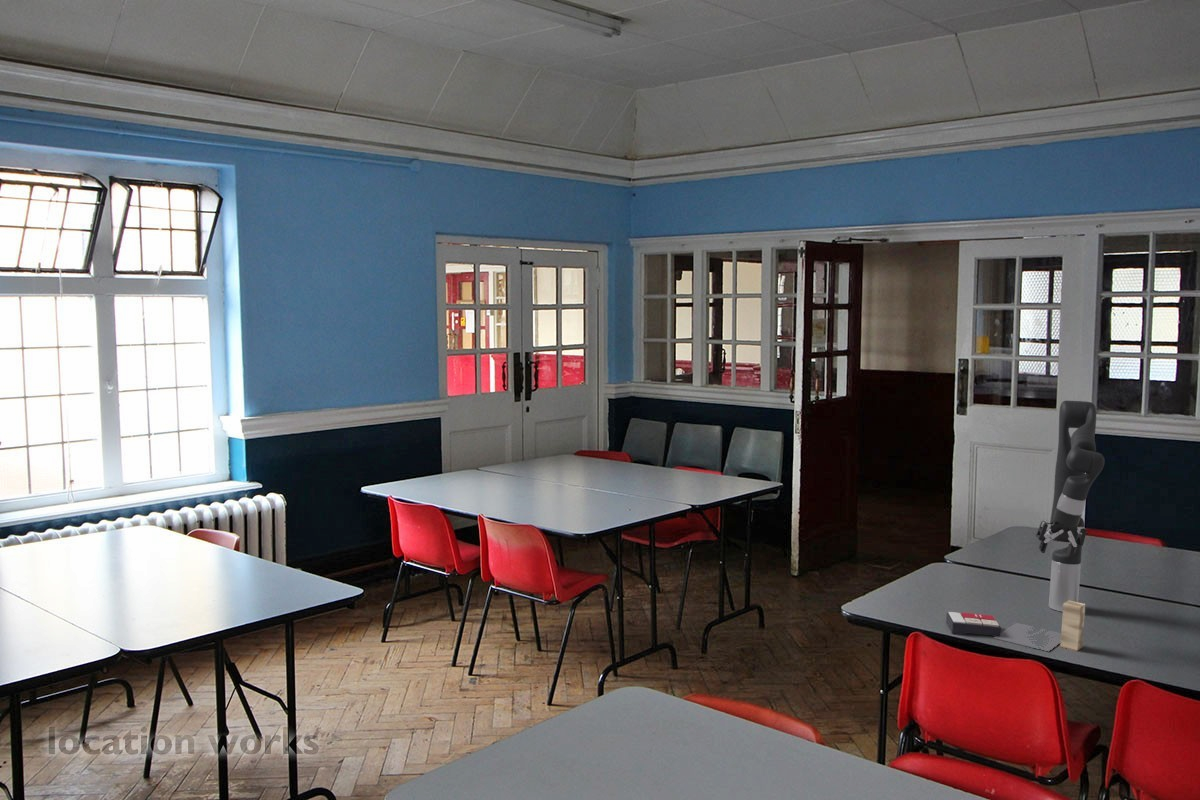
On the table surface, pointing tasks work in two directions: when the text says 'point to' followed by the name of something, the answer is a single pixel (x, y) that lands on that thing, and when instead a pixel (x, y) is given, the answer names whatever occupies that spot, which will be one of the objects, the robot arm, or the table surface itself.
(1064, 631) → the tall block
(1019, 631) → the mat
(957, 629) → the red white grey box
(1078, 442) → the robot arm
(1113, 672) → the table surface
